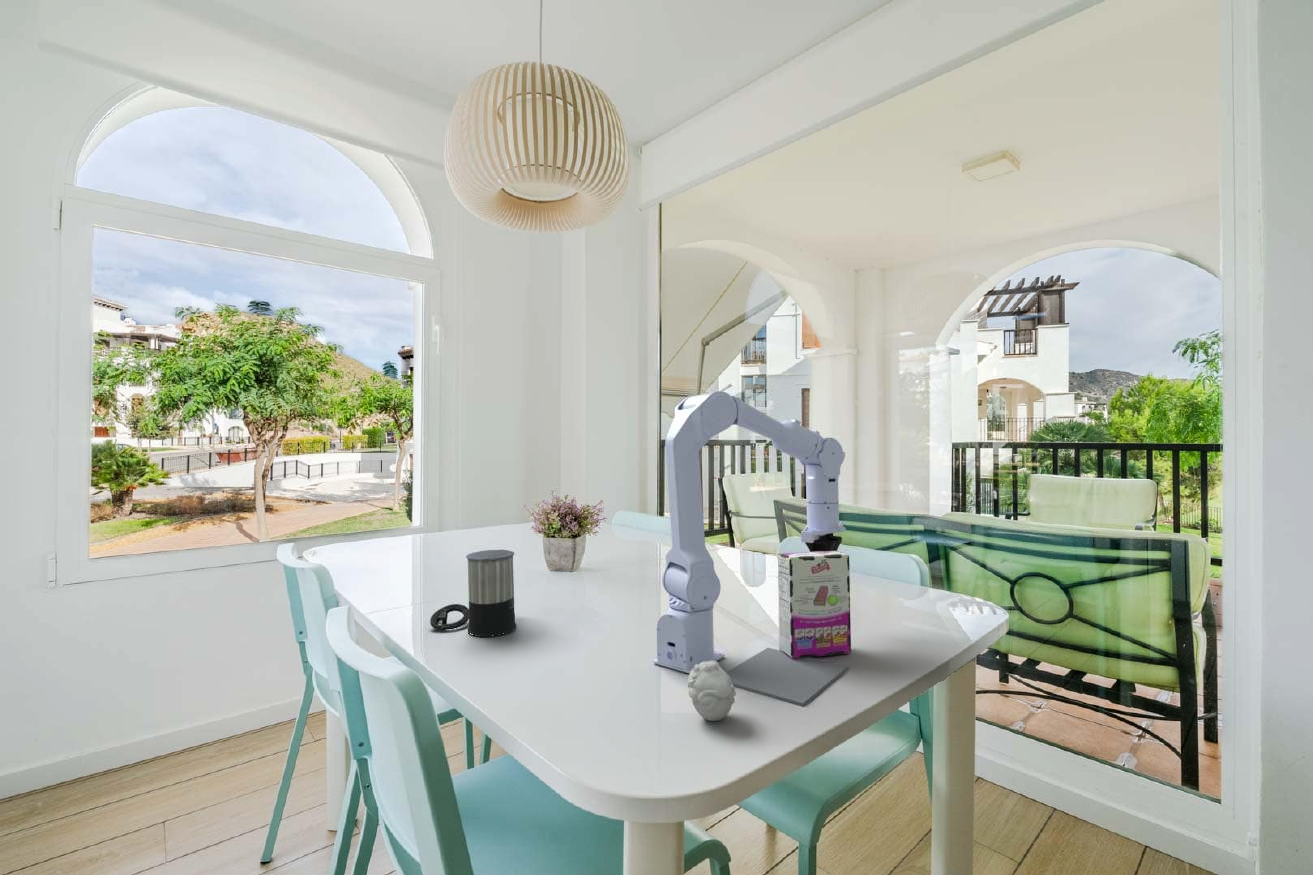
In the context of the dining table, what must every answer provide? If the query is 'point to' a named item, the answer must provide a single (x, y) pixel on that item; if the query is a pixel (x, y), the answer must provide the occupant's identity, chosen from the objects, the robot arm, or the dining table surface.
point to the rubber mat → (785, 676)
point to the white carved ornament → (711, 690)
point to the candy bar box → (814, 603)
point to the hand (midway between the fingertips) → (824, 576)
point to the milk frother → (485, 596)
